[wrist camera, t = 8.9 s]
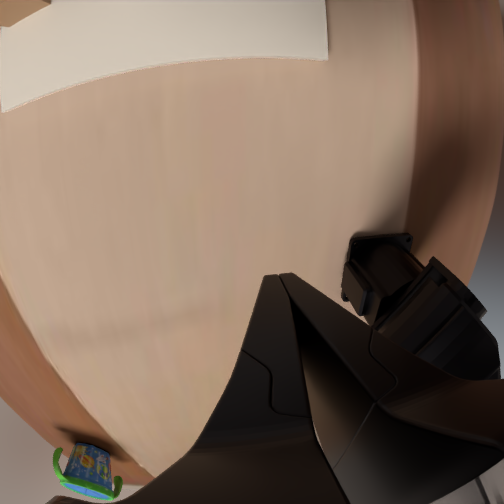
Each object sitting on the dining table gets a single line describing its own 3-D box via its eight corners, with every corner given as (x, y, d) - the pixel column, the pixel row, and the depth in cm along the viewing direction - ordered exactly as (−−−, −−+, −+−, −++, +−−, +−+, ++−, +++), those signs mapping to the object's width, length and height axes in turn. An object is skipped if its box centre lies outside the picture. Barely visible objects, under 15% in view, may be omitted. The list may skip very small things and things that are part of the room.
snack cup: (48, 432, 37) (39, 474, 28) (79, 430, 36) (71, 480, 27) (102, 463, 45) (98, 501, 36) (136, 462, 44) (134, 505, 35)
